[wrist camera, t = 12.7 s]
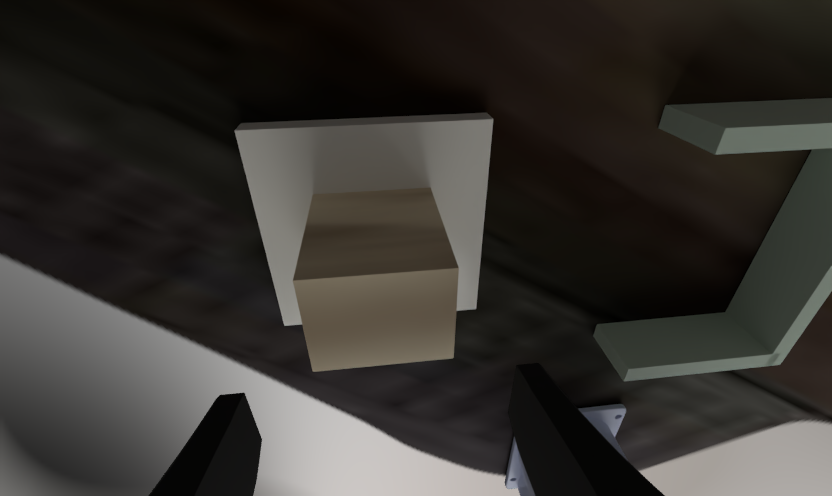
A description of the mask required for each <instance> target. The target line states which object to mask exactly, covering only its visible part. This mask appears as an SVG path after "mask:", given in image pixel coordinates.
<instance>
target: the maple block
mask: <svg viewBox="0 0 832 496" xmlns="http://www.w3.org/2000/svg"><path fill="white" fill-rule="evenodd" d="M458 274H459V267H458V264H457V261H456V259H455V256H454V253H453V250H452V247H451V244H450V241H449V239H448V236H447V233H446V230H445V227H444V224H443V222H442V219H441V216H440V213H439V210H438V207H437V204H436V202H435V199H434V196H433V193H432V190H431V188H416V189H398V190H381V191H363V192H346V193H328V194H313V196H312V200H311V204H310V209H309V213H308V217H307V222H306V226H305V230H304V235H303V239H302V243H301V247H300V252H299V256H298V260H297V265H296V269H295V273H294V278H293V284H294V289H295V293H296V298H297V302H298V307H299V311H300V316H301V320H302V325H303V329H304V334H305V339H306V343H307V348H308V352H309V357H310V361H311V366H312V370H313V372H316V371H326V370H337V369H347V368H357V367H368V366H378V365H388V364H399V363H409V362H419V361H430V360H440V359H450V358H454V342H455V325H456V308H457V291H458Z"/></svg>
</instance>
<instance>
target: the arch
mask: <svg viewBox="0 0 832 496" xmlns="http://www.w3.org/2000/svg"><path fill="white" fill-rule="evenodd" d="M658 128H659V129H662V130H664V131H666V132H668V133H670V134H672V135H674V136H676V137H679V138H681V139H683V140H685V141H687V142H689V143H691V144H694V145H696V146H698V147H700V148H702V149H704V150H706V151H708V152H711V153H713V154H715V155H717V154H735V153H753V152H771V151H789V150H807V149H812V151H811V152H810V154H809V156H808V158H807V160H806V162H805V164H804V166H803V167H802V169H801V171H800V173H799V175H798V177H797V179H796V181H795V182H794V184H793V186H792V188H791V190H790V192H789V194H788V195H787V197H786V199H785V201H784V203H783V205H782V207H781V209H780V210H779V212H778V214H777V216H776V218H775V220H774V222H773V224H772V225H771V227H770V229H769V231H768V233H767V235H766V237H765V239H764V240H763V242H762V244H761V246H760V248H759V250H758V252H757V254H756V255H755V257H754V259H753V261H752V263H751V265H750V267H749V269H748V270H747V272H746V274H745V276H744V278H743V280H742V282H741V283H740V285H739V287H738V289H737V291H736V293H735V295H734V297H733V298H732V300H731V302H730V304H729V306H728V308H727V310H726V312H722V313H712V314H701V315H690V316H679V317H669V318H658V319H647V320H637V321H626V322H615V323H604V324H597V325H596V328H595V332H594V335H593V337H594V338H595V340H596V341H597V343H598V344H599V346H600V347H601V348H602V350H603V351H604V353H605V354H606V356H607V357H608V359H609V360H610V362H611V363H612V365H613V366H614V368H615V369H616V371H617V372H618V374H619V375H620V377H621V378H622V380H623V381H633V380H642V379H651V378H661V377H670V376H679V375H689V374H698V373H707V372H717V371H726V370H735V369H745V368H754V367H763V366H773V365H780V364H781V363H782V361H783V360H784V358H785V357H786V356H787V354H788V353H789V351H790V350H791V348H792V347H793V346H794V344H795V343H796V341H797V340H798V338H799V337H800V336H801V334H802V333H803V331H804V330H805V328H806V327H807V325H808V324H809V323H810V321H811V320H812V318H813V317H814V315H815V314H816V313H817V311H818V310H819V308H820V307H821V305H822V304H823V303H824V301H825V300H826V298H827V297H828V295H829V294H830V292H831V291H832V98H819V99H796V100H772V101H749V102H725V103H702V104H679V105H665V108H664V111H663V114H662V117H661V120H660V124H659V127H658Z"/></svg>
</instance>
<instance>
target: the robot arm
mask: <svg viewBox="0 0 832 496" xmlns="http://www.w3.org/2000/svg"><path fill="white" fill-rule="evenodd" d="M625 413H626V408H625V407H624V405H622V404H613V405H605V406H596V407H587V408H577V407H576V406H575V405H574V404H573V402H572V401H571V400H570V399H569V398H568V397H567V396H566V394H565V393H564V392H563V391H562V390H561V389H560V387H559V386H558V385H557V384H556V383H555V382H554V380H553V379H552V378H551V377H550V376H549V374H548V373H547V372H546V371H545V370H544V368H543V367H542V366H541V365H540V364H539V363H534V364H524V365H516V371H515V376H514V382H513V388H512V393H511V399H510V404H509V410H508V414H509V418H510V421H511V425H512V429H513V433H514V439H513V444H512V449H511V454H510V459H509V464H508V469H507V474H506V479H505V486H506V488H507V489H515V488H518V490H519V493H520V495H521V496H664V495H663V494H662V493H661V492H660V491H659V490H658V489H657V488H655V487H654V486H653V485H652V484H651V483H650V482H649V481H648V480H647V479H646V478H645V477H644V476H643V475H642V474H641V473H640V472H639V471H637V470H636V469H635V468H634V467H633V466H632V465H631V464H630V463H629V462H628V460H627V458H626V457H625V455H624V453H623V451H622V450H621V448H620V446H619V444H618V443H617V441H616V439H615V436H616V433H617V431H618V429H619V427H620V424H621V422H622V420H623V417H624V415H625ZM261 442H262V439H261V436H260V433H259V431H258V428H257V426H256V423H255V420H254V417H253V415H252V412H251V409H250V406H249V404H248V401H247V399H246V396H245V393H236V394H226V395H220V396H219V397H218V398H217V399H216V400H215V402H214V403H213V405H212V406H211V408H210V409H209V411H208V412H207V414H206V415H205V417H204V418H203V420H202V421H201V423H200V424H199V426H198V427H197V429H196V430H195V431H194V433H193V435H192V436H191V438H190V439H189V440H188V442H187V443H186V445H185V446H184V448H183V449H182V450H181V452H180V453H179V455H178V456H177V457H176V459H175V460H174V462H173V463H172V464H171V466H170V467H169V469H168V470H167V471H166V473H165V474H164V475H163V477H162V478H161V480H160V481H159V482H158V484H157V485H156V487H155V488H154V489H153V490H152V492H151V493H150V494H149V496H253V493H254V489H255V484H256V479H257V473H258V466H259V458H260V450H261Z"/></svg>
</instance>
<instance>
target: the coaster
mask: <svg viewBox="0 0 832 496" xmlns="http://www.w3.org/2000/svg"><path fill="white" fill-rule="evenodd" d="M492 128H493V118H492V117H491V116H490V115H489V114H488V113H468V114H444V115H421V116H397V117H374V118H351V119H327V120H304V121H280V122H257V123H241V124H240V125H239V126H238V127H237V128H236V129H235V134H236V138H237V142H238V146H239V150H240V154H241V158H242V162H243V166H244V170H245V174H246V177H247V181H248V185H249V189H250V193H251V197H252V201H253V205H254V209H255V213H256V217H257V220H258V224H259V228H260V232H261V236H262V240H263V244H264V248H265V252H266V256H267V260H268V263H269V267H270V271H271V275H272V279H273V283H274V287H275V291H276V295H277V299H278V303H279V307H280V310H281V314H282V318H283V322H284V326H287V325H299V324H302V320H301V316H300V311H299V307H298V302H297V298H296V293H295V289H294V284H293V278H294V273H295V269H296V265H297V260H298V256H299V252H300V247H301V243H302V239H303V235H304V230H305V226H306V222H307V217H308V213H309V209H310V204H311V200H312V196H313V194H328V193H346V192H363V191H381V190H398V189H416V188H431V190H432V193H433V196H434V199H435V202H436V204H437V207H438V210H439V213H440V216H441V219H442V222H443V224H444V227H445V230H446V233H447V236H448V239H449V241H450V244H451V247H452V250H453V253H454V256H455V259H456V261H457V264H458V267H459V274H458V291H457V308H456V311H459V310H471V309H476V304H477V293H478V282H479V271H480V260H481V249H482V238H483V227H484V216H485V205H486V194H487V183H488V172H489V161H490V150H491V139H492Z"/></svg>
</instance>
